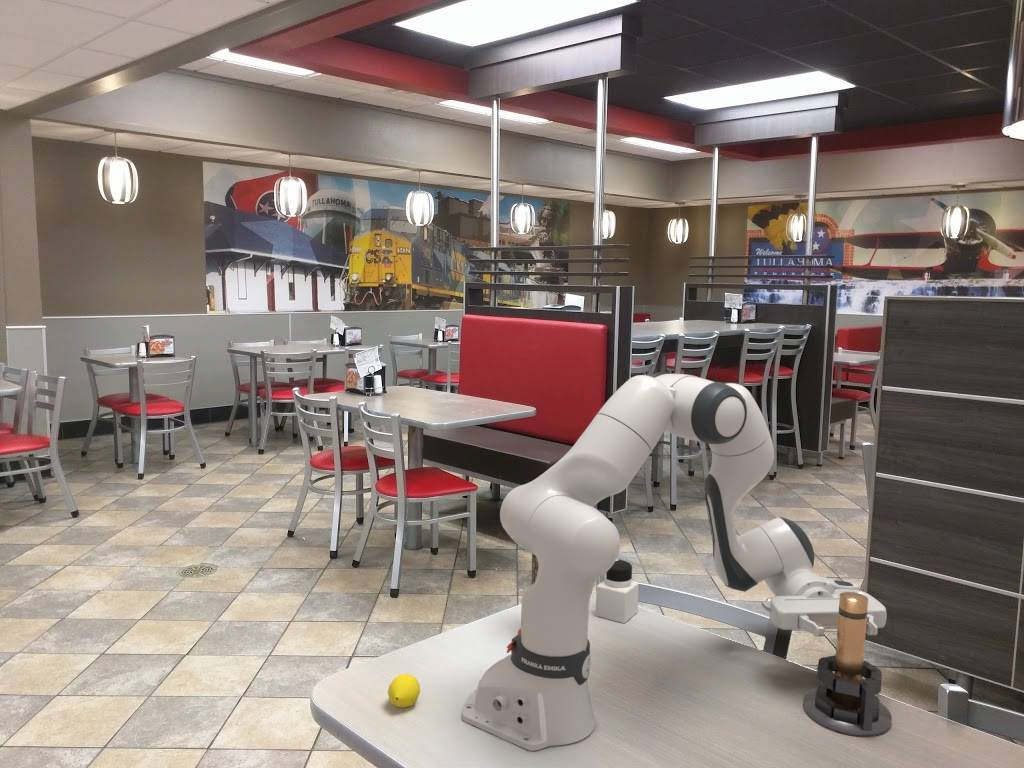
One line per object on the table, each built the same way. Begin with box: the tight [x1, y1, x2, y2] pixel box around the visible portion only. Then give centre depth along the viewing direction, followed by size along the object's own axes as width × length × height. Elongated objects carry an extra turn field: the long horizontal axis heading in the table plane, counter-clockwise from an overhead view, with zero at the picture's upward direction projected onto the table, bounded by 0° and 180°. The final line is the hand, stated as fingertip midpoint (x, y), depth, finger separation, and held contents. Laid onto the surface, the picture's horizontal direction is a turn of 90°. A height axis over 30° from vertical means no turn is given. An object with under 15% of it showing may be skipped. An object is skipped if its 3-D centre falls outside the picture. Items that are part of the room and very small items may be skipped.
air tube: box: [832, 592, 868, 709], centre depth 134 cm, size 4×4×20 cm
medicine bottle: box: [595, 559, 639, 624], centre depth 174 cm, size 7×7×12 cm
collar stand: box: [802, 654, 892, 738], centre depth 135 cm, size 14×14×8 cm
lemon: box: [387, 673, 421, 709], centre depth 136 cm, size 7×5×5 cm
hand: (847, 631), depth 135 cm, fingers open, 8 cm apart
